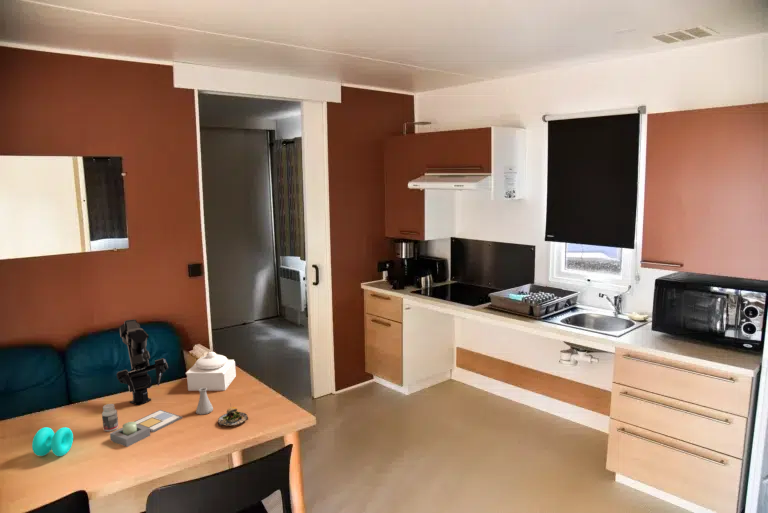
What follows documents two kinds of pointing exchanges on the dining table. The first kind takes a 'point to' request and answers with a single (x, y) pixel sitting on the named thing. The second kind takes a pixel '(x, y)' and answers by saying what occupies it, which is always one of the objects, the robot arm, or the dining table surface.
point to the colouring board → (158, 420)
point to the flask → (204, 403)
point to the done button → (129, 428)
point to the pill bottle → (109, 417)
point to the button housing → (130, 436)
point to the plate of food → (232, 417)
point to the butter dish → (211, 373)
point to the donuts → (52, 441)
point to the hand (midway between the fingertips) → (146, 388)
